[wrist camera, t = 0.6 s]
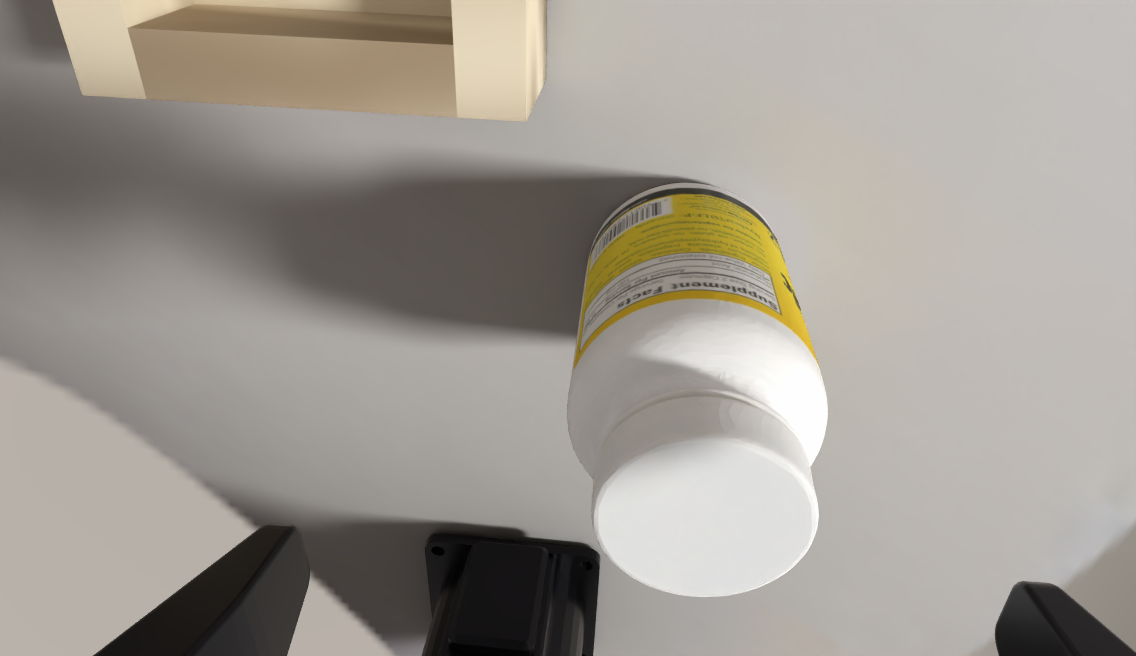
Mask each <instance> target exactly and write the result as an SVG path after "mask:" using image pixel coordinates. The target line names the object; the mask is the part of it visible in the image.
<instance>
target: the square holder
mask: <svg viewBox="0 0 1136 656" xmlns="http://www.w3.org/2000/svg"><path fill="white" fill-rule="evenodd" d="M52 1H53V4H54V7H55V10H56V13H57V17H58V20H59V23H60V26H61V29H62V32H63V36H64V39H65V42H66V45H67V48H68V51H69V55H70V58H71V61H72V64H73V67H74V70H75V74H76V77H77V80H78V83H79V86H80V89H81V93H82V95H84V96H101V97H118V98H135V99H152V100H169V101H186V102H203V103H220V104H237V105H254V106H271V107H288V108H305V109H322V110H339V111H356V112H373V113H390V114H407V115H424V116H441V117H457V118H474V119H491V120H508V121H525V122H526V121H527V119H528V117H529V114H530V112H531V110H532V108H533V106H534V104H535V102H536V100H537V97H538V95H539V93H540V91H541V89H542V87H543V85H544V83H545V80H546V31H547V0H52Z"/></svg>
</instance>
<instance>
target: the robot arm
mask: <svg viewBox="0 0 1136 656" xmlns="http://www.w3.org/2000/svg"><path fill="white" fill-rule="evenodd" d="M425 555H426V564H427V573H428V582H429V592H430V601H431V610H432V622H431V625H430V629H429V632H428V635H427V639H426V642H425V646H424V649H423V653H422V656H593V650H594V636H595V623H596V610H597V596H598V583H599V569H600V555H599V554H598V552H597V551H595V550H593V549H590V548H583V547H573V546H563V545H552V544H542V543H532V542H522V541H511V540H501V539H491V538H481V537H471V536H460V535H450V534H433V535H431V536H430V537H429V538H428V541H427V544H426V547H425ZM585 561H588V562H585ZM309 579H310V568H309V563H308V559H307V555H306V551H305V547H304V543H303V539H302V534H301V532H300V530H299V528H298V527H297V526H294V525H285V524H266V525H264V526H262V527H261V528H259V529H258V530H257V531H255V532H254V533H253V534H251V535H250V536H249V537H247V538H246V539H245V540H244V541H242V542H241V543H240V544H238V545H237V546H236V547H235V548H233V549H232V550H231V551H229V552H228V553H227V554H225V555H224V556H223V557H221V558H220V559H219V560H218V561H216V562H215V563H213V564H212V565H211V566H210V567H208V568H207V569H206V570H204V571H203V572H202V573H200V574H199V575H198V576H197V577H195V578H194V579H193V580H191V581H190V582H189V583H187V584H186V585H185V586H183V587H182V588H181V589H180V590H178V591H177V592H176V593H175V594H173V595H172V596H170V597H169V598H168V599H167V600H165V601H164V602H163V603H161V604H160V605H159V606H157V608H155V609H153V610H152V611H151V612H150V613H148V614H147V615H146V616H144V617H143V618H142V619H140V620H139V621H138V622H136V623H135V624H134V625H133V626H131V627H130V628H129V629H127V630H126V631H125V632H123V633H122V634H121V635H119V636H118V637H117V638H116V639H114V640H113V641H112V642H110V643H109V644H108V645H106V646H105V647H104V648H103V649H102V650H100V651H99V652H97V653H96V654H95V655H93V656H287V654H288V650H289V647H290V644H291V641H292V637H293V634H294V631H295V628H296V624H297V621H298V618H299V614H300V611H301V608H302V605H303V602H304V598H305V595H306V592H307V589H308V585H309ZM995 641H996V646H997V650H998V654H999V656H1136V652H1135V651H1134V650H1133V649H1131V648H1130V647H1129V646H1128V645H1127V644H1126V643H1124V642H1123V641H1122V640H1121V639H1120V638H1119V637H1117V636H1116V635H1115V634H1114V633H1113V632H1111V631H1110V630H1109V629H1108V628H1107V627H1106V626H1104V625H1103V624H1102V623H1101V622H1100V621H1098V620H1097V619H1096V618H1095V617H1094V616H1093V615H1091V614H1090V613H1089V612H1088V611H1087V610H1086V609H1084V608H1083V607H1082V606H1081V605H1080V604H1078V603H1077V602H1076V601H1075V600H1074V599H1073V598H1071V597H1070V596H1069V595H1068V594H1067V593H1066V592H1064V591H1063V590H1062V589H1060V588H1059V587H1057V586H1056V585H1053V584H1050V583H1041V582H1028V581H1021V582H1018V583H1017V584H1015V585H1014V587H1013V588H1012V590H1011V592H1010V594H1009V597H1008V599H1007V601H1006V603H1005V605H1004V608H1003V610H1002V612H1001V614H1000V616H999V619H998V621H997V624H996V628H995Z"/></svg>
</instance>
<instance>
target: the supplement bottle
mask: <svg viewBox="0 0 1136 656" xmlns="http://www.w3.org/2000/svg"><path fill="white" fill-rule="evenodd" d="M827 417H828V411H827V397H826V392H825V387H824V383H823V379H822V375H821V371H820V368H819V365H818V362H817V359H816V356H815V353H814V349H813V346H812V343H811V340H810V337H809V334H808V331H807V328H806V325H805V322H804V319H803V317H802V313H801V309H800V306H799V303H798V300H797V298H796V295H795V292H794V289H793V286H792V283H791V280H790V277H789V273H788V270H787V267H786V264H785V261H784V258H783V255H782V252H781V249H780V246H779V244H778V241H777V239H776V237H775V235H774V233H773V231H772V229H771V227H770V226H769V224H768V222H767V221H766V220H765V219H764V217H763V216H762V215H761V214H760V213H759V212H758V211H757V210H756V209H755V208H754V207H753V206H752V205H751V204H749V203H748V202H747V201H745V200H743V199H742V198H740V197H739V196H737V195H735V194H733V193H731V192H729V191H726V190H724V189H721V188H718V187H715V186H711V185H705V184H698V183H674V184H667V185H662V186H659V187H655V188H652V189H649V190H647V191H644V192H642V193H640V194H638V195H636V196H634V197H633V198H631V199H629V200H628V201H626V202H625V203H624V204H622V205H621V206H620V207H619V208H617V209H616V210H615V211H614V212H613V213H612V214H611V215H610V216H609V218H608V219H607V220H606V221H605V222H604V224H603V225H602V227H601V228H600V230H599V232H598V233H597V235H596V237H595V240H594V242H593V245H592V247H591V251H590V254H589V258H588V264H587V270H586V276H585V283H584V291H583V298H582V305H581V312H580V319H579V326H578V334H577V341H576V348H575V355H574V362H573V369H572V375H571V382H570V388H569V395H568V404H567V420H568V430H569V435H570V438H571V442H572V445H573V448H574V450H575V453H576V455H577V457H578V459H579V460H580V462H581V464H582V465H583V467H584V468H585V470H586V471H587V472H588V474H589V475H590V476H591V477H592V478H593V494H592V514H591V517H592V524H593V528H594V532H595V535H596V537H597V540H598V542H599V544H600V546H601V547H602V549H603V551H604V552H605V554H606V555H607V556H608V557H609V559H610V560H611V561H612V562H613V563H614V564H615V565H616V566H617V567H618V568H620V569H621V570H622V571H623V572H624V573H626V574H627V575H629V576H630V577H632V578H634V579H635V580H637V581H639V582H641V583H643V584H645V585H647V586H650V587H652V588H655V589H658V590H661V591H665V592H669V593H672V594H677V595H684V596H694V597H715V596H727V595H733V594H738V593H743V592H746V591H750V590H753V589H756V588H758V587H761V586H763V585H766V584H768V583H770V582H772V581H774V580H775V579H777V578H779V577H780V576H782V575H783V574H785V573H787V572H788V571H789V570H790V569H791V568H792V567H794V566H795V565H796V564H797V563H798V562H799V560H800V559H801V558H802V557H803V556H804V555H805V553H806V552H807V550H808V549H809V547H810V546H811V543H812V541H813V539H814V536H815V534H816V530H817V527H818V518H819V513H818V503H817V498H816V493H815V489H814V485H813V481H812V475H811V469H810V466H811V465H812V463H813V461H814V459H815V458H816V456H817V454H818V452H819V450H820V447H821V445H822V442H823V439H824V435H825V431H826V425H827Z"/></svg>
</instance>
